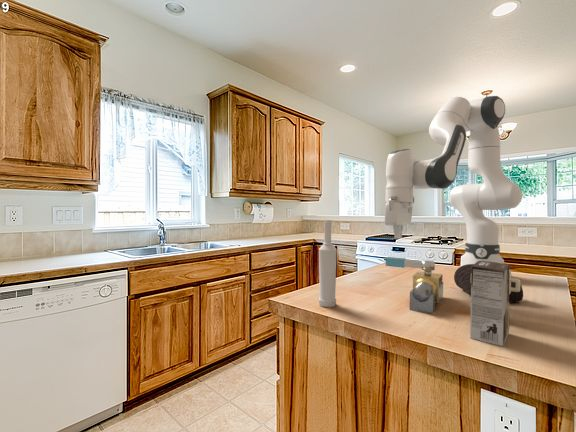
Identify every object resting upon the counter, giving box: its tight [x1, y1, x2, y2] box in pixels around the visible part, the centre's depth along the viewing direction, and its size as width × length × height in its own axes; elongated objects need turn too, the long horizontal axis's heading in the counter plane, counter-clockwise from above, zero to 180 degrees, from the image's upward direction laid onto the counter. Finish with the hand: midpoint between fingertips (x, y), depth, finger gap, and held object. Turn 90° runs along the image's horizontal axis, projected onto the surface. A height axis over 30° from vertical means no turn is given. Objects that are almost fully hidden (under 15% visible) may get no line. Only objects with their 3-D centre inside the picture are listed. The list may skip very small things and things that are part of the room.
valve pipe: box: [409, 270, 444, 315], centre depth 92 cm, size 20×7×10 cm, turn 146°
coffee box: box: [469, 261, 511, 347], centre depth 68 cm, size 9×6×16 cm
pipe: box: [453, 264, 524, 303], centre depth 99 cm, size 10×15×15 cm
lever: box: [385, 256, 436, 272], centre depth 95 cm, size 14×4×3 cm, turn 56°
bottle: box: [318, 219, 338, 308], centre depth 90 cm, size 5×5×25 cm
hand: (398, 238), depth 103 cm, fingers closed
